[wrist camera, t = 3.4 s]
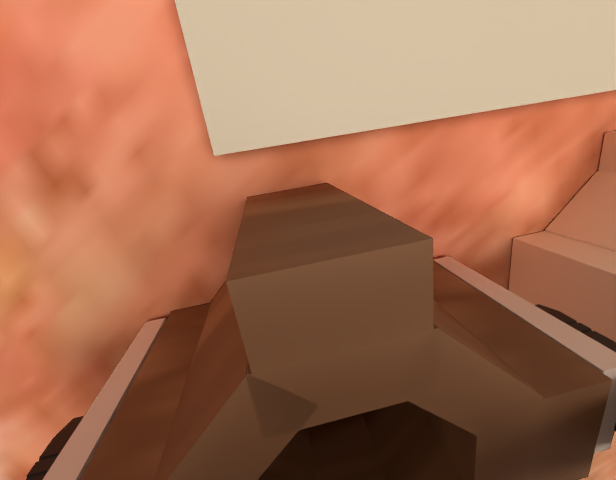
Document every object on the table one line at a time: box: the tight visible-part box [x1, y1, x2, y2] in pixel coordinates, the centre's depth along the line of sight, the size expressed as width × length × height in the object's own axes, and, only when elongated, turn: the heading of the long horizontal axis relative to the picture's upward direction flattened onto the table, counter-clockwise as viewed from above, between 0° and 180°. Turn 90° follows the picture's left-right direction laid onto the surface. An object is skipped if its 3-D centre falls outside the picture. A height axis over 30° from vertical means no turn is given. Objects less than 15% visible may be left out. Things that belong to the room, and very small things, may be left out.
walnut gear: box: [80, 183, 612, 480], centre depth 9 cm, size 11×11×7 cm
